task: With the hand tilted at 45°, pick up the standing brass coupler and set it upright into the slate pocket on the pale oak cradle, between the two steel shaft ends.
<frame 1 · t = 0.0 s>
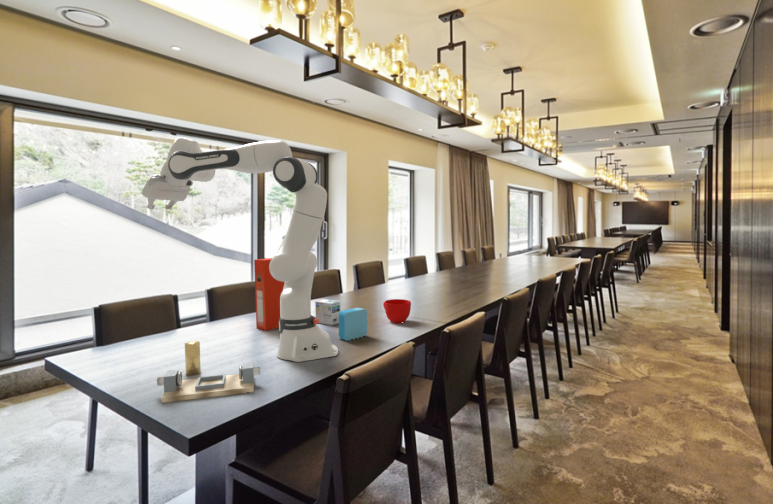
hand: (159, 208, 162), 54 cm above the table, tool tilted 30°, fingers open, 8 cm apart
ceramic cup: (395, 321, 205), on the table
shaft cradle: (211, 389, 123), on the table
file binder: (277, 326, 196), on the table
light bulb box: (328, 323, 203), on the table
brass coupler: (193, 372, 136), on the table
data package: (353, 338, 177), on the table
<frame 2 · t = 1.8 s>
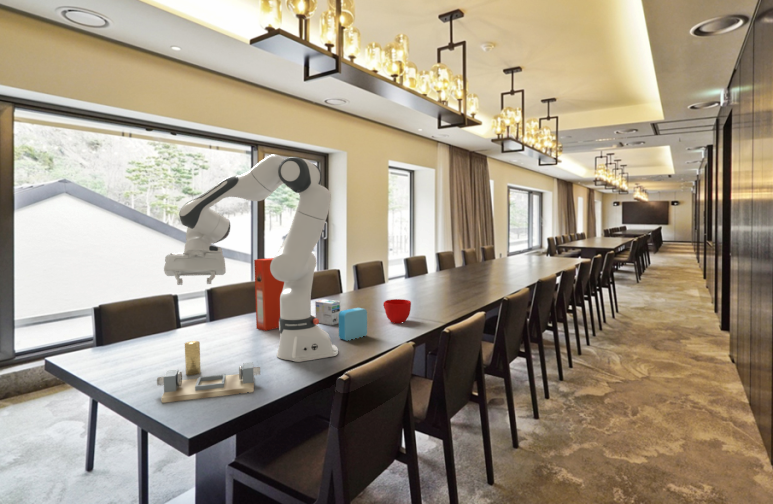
hand: (194, 283, 147), 28 cm above the table, tool tilted 45°, fingers open, 8 cm apart
nothing on the table moved.
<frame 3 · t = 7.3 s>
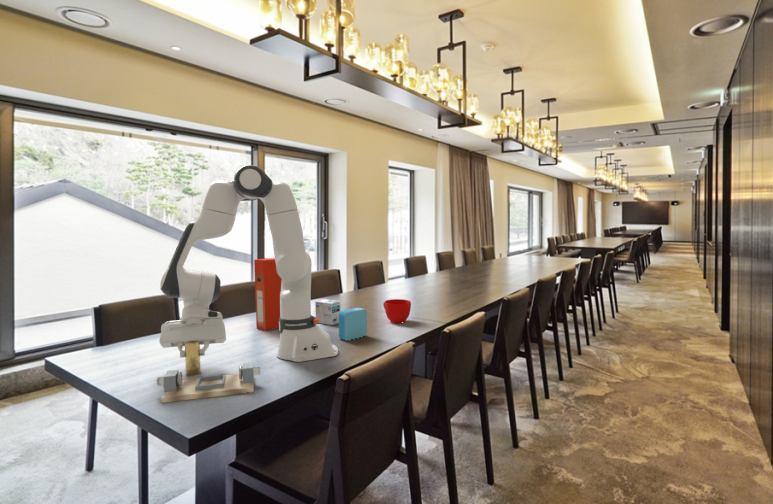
hand: (192, 355, 135), 6 cm above the table, tool tilted 45°, fingers closed on brass coupler, 4 cm apart
brass coupler: (193, 372, 136), on the table, touching gripper
everything else where it was.
when the fingers open (8 cm above the table, at t = 14.4 s): brass coupler stays where it is, resting on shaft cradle.
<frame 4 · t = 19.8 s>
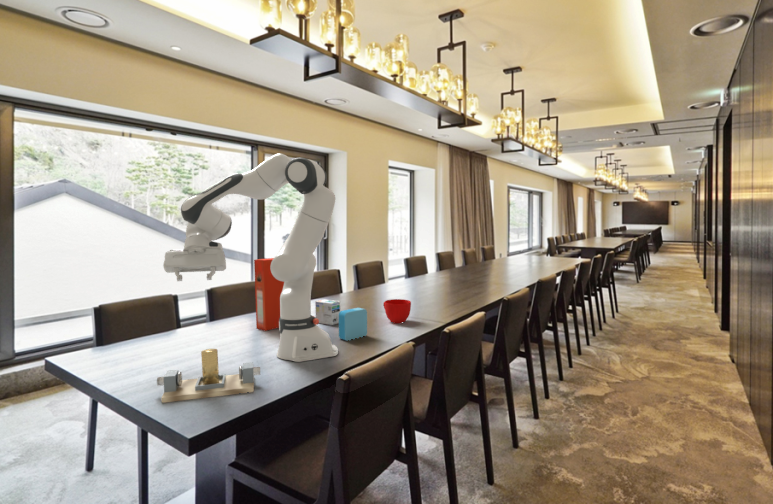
hand: (194, 279, 144), 29 cm above the table, tool tilted 45°, fingers open, 8 cm apart
brass coupler: (211, 384, 123), point 2 cm above the table, touching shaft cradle
everything else where it was.
at the end: brass coupler 0.0 cm off-centre on the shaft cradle, point 1.5 cm above the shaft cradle's base; brass coupler tilted 1°; the gripper is holding nothing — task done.
